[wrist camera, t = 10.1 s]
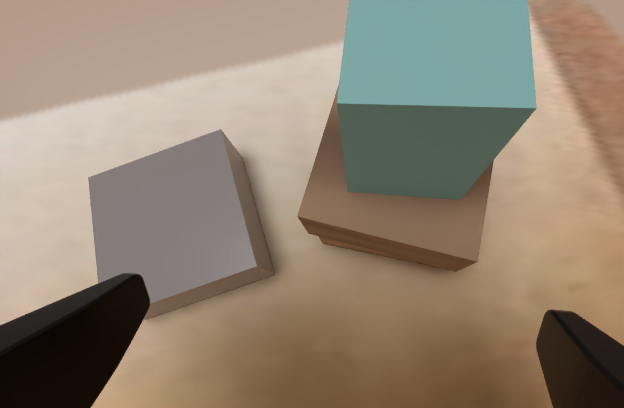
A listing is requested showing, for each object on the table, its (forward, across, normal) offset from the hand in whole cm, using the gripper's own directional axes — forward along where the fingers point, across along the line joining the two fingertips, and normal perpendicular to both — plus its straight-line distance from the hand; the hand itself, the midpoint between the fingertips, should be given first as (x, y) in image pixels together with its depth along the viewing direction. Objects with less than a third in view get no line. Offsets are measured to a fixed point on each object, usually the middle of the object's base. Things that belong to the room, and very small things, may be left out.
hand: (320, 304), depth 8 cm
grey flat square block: (+13, +11, +6) cm, 18 cm away
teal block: (+10, -2, -1) cm, 11 cm away
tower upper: (+13, -2, +2) cm, 13 cm away
